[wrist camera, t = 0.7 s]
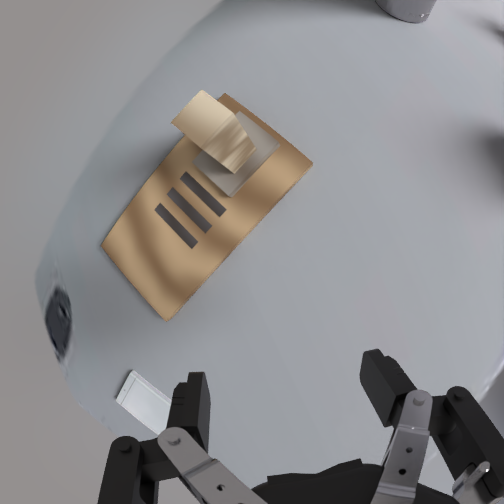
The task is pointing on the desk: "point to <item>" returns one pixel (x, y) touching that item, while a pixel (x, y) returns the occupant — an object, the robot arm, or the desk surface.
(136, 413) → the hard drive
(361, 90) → the desk surface
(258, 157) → the block
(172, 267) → the board
